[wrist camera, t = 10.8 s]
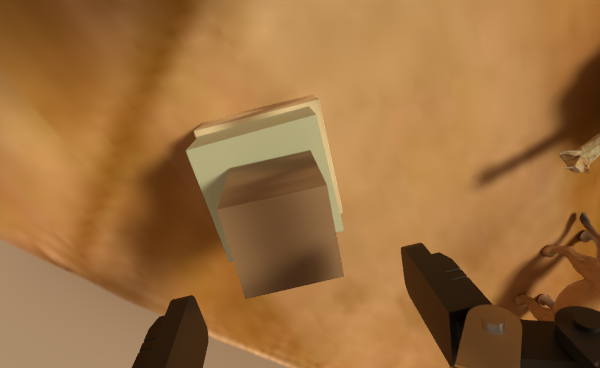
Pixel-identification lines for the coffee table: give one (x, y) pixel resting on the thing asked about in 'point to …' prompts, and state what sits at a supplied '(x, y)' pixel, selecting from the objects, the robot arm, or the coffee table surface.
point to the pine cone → (582, 155)
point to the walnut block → (279, 224)
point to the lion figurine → (586, 293)
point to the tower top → (257, 155)
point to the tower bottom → (268, 112)
